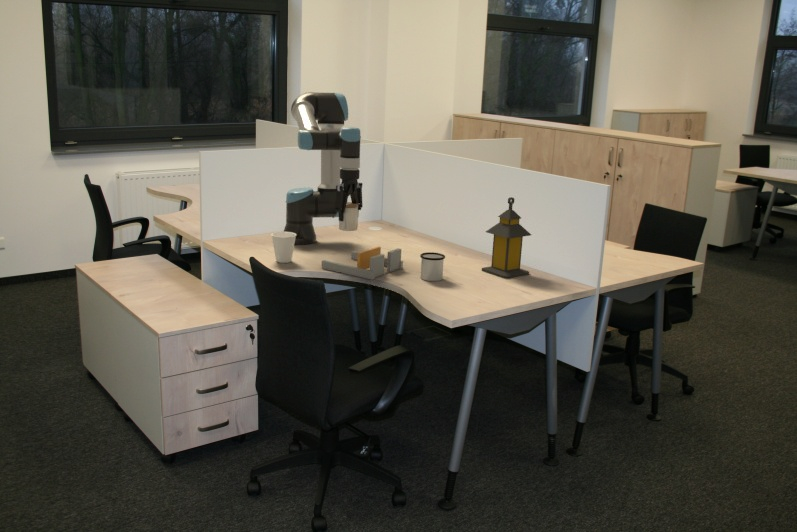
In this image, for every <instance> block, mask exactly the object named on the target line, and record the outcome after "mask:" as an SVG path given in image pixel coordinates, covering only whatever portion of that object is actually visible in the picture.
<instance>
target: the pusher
mask: <svg viewBox="0 0 797 532" xmlns="http://www.w3.org/2000/svg"><path fill="white" fill-rule="evenodd" d="M381 249H382V247H381V246H376V247H373V248H370V249H369V248H368V249H367V250H363V251H359V252H360V253H358V255H357V260H356V261H357V264H356V267H358V268H363V269H367V270H369V268H370V257H373V256H376V255H379V254H382V253H381V251H382V250H381ZM384 263H385V264H388V261H384Z"/></svg>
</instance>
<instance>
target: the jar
mask: <svg viewBox="0 0 797 532" xmlns="http://www.w3.org/2000/svg"><path fill="white" fill-rule="evenodd" d="M344 213H346V230H343V229H339V230H341V231H342V232H343V231H344V232H356V231H357V230H358V227H357V224H358V225H359V216H358V203H353V202H352V201H347V204H346V208H345V212H344Z"/></svg>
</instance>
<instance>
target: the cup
mask: <svg viewBox="0 0 797 532" xmlns="http://www.w3.org/2000/svg"><path fill="white" fill-rule="evenodd" d="M270 235H271V238H272V244H273V250H274V256H275V261H276V262H277V263H282V264H285V263H286V264H287V263H290V262H292V261H293V253H294V249H295V248H294V247H295V244H294V243H295V238H296V234H295V233H292V232H284V231H276V232H273V233H271V234H270Z"/></svg>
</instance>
